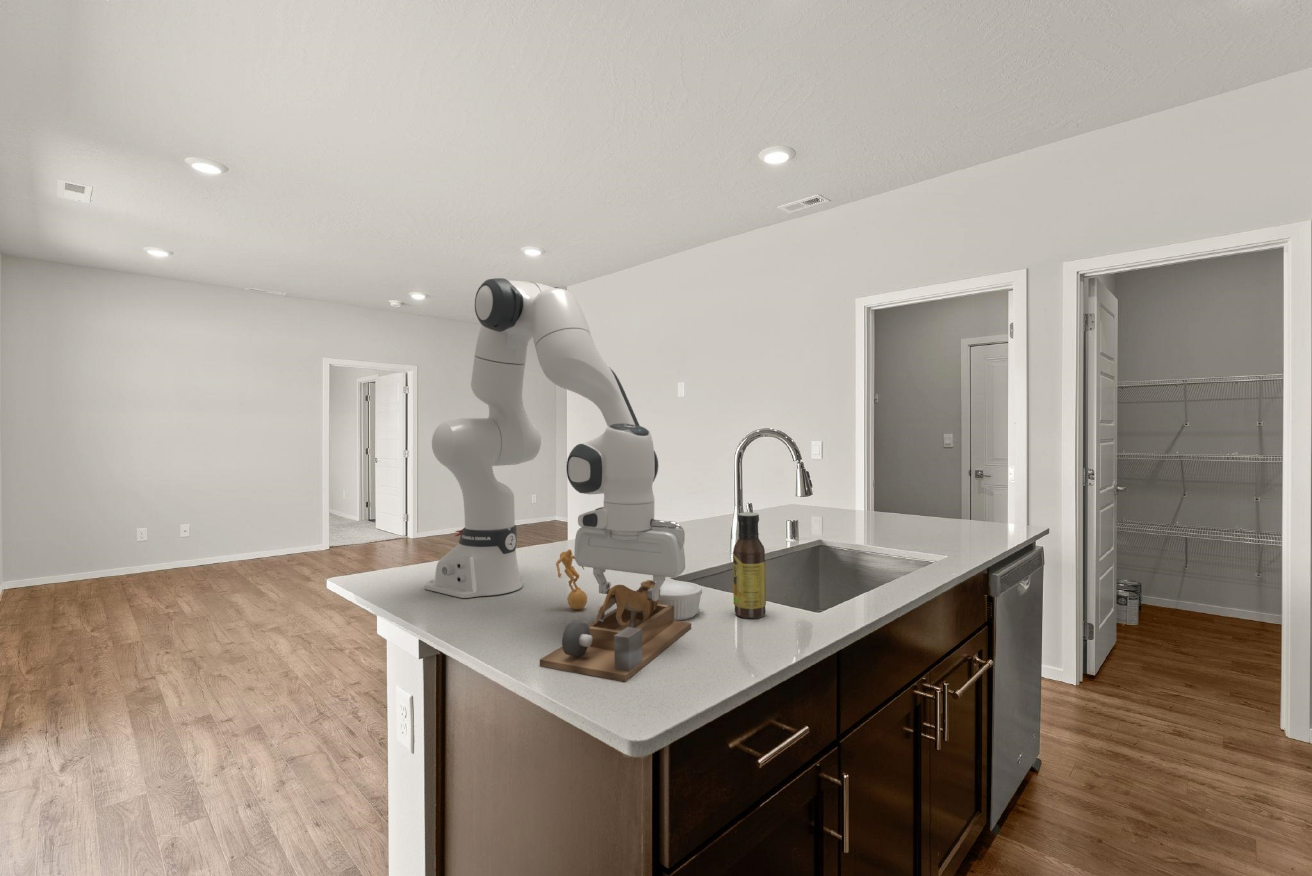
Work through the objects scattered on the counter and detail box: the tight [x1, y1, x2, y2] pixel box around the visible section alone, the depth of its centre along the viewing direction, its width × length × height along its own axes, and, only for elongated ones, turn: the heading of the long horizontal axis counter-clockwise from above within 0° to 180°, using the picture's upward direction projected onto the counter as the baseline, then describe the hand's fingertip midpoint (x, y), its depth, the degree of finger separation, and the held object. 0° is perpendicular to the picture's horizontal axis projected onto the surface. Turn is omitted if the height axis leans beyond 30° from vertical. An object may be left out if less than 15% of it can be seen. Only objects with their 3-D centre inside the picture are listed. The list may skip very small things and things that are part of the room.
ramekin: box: [658, 580, 703, 621], centre depth 123 cm, size 11×11×5 cm
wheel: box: [561, 621, 592, 657], centre depth 97 cm, size 3×5×5 cm
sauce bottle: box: [732, 511, 767, 619], centre depth 121 cm, size 6×6×20 cm
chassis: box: [539, 604, 692, 683], centre depth 105 cm, size 15×26×6 cm, turn 155°
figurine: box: [555, 548, 588, 611], centre depth 127 cm, size 8×6×12 cm
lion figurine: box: [596, 579, 660, 628], centre depth 108 cm, size 15×5×9 cm, turn 146°
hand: (628, 596), depth 109 cm, fingers open, 8 cm apart
